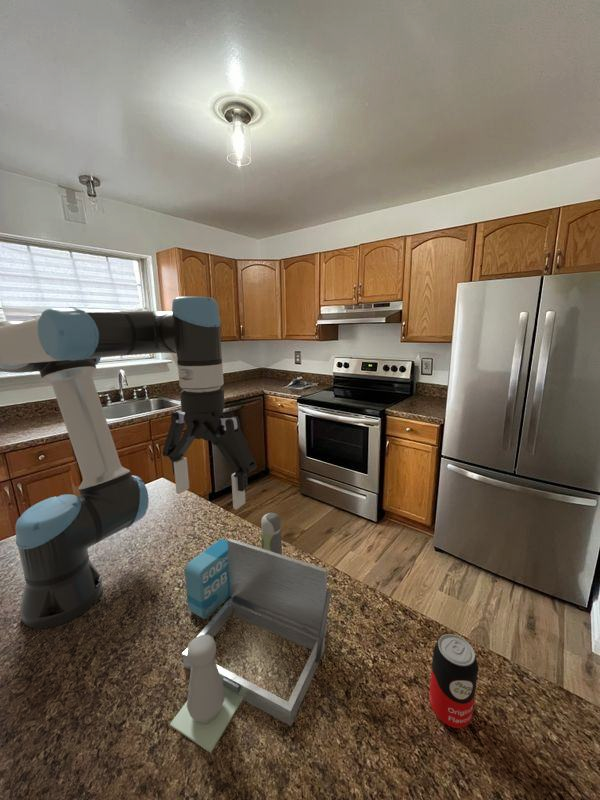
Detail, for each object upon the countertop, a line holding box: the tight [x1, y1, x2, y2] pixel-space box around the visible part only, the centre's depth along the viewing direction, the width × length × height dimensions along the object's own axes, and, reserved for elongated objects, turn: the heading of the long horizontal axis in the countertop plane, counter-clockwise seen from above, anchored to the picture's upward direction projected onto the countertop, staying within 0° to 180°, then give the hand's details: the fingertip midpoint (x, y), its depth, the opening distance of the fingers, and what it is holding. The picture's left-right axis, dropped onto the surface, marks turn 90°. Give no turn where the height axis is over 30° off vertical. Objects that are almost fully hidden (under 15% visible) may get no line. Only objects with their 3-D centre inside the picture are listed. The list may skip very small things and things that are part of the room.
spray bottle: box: [260, 512, 283, 555], centre depth 76 cm, size 5×5×20 cm
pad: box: [169, 688, 244, 754], centre depth 54 cm, size 8×8×1 cm
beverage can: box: [428, 633, 479, 729], centre depth 53 cm, size 6×6×12 cm
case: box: [182, 538, 332, 727], centre depth 61 cm, size 23×16×17 cm
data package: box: [184, 538, 231, 620], centre depth 76 cm, size 12×4×12 cm, turn 149°
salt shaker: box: [186, 635, 225, 725], centre depth 53 cm, size 6×6×13 cm
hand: (210, 498), depth 65 cm, fingers open, 13 cm apart
